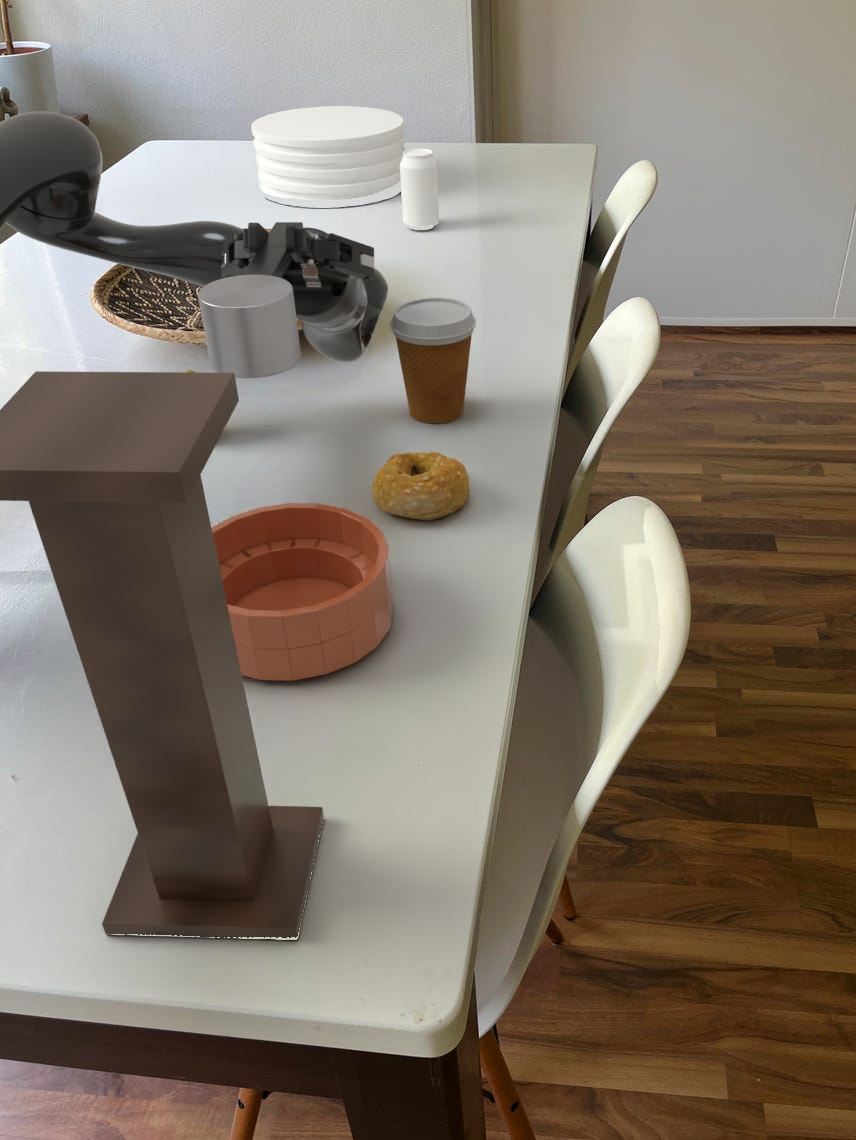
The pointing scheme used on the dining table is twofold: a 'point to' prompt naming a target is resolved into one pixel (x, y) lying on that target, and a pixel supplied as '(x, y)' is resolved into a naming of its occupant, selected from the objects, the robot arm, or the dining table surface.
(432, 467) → the bagel
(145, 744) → the stand
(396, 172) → the plate stack
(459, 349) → the disposable coffee cup
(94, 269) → the dining table surface
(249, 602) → the bowl
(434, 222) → the beverage can
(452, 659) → the dining table surface
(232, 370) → the metal mallet
